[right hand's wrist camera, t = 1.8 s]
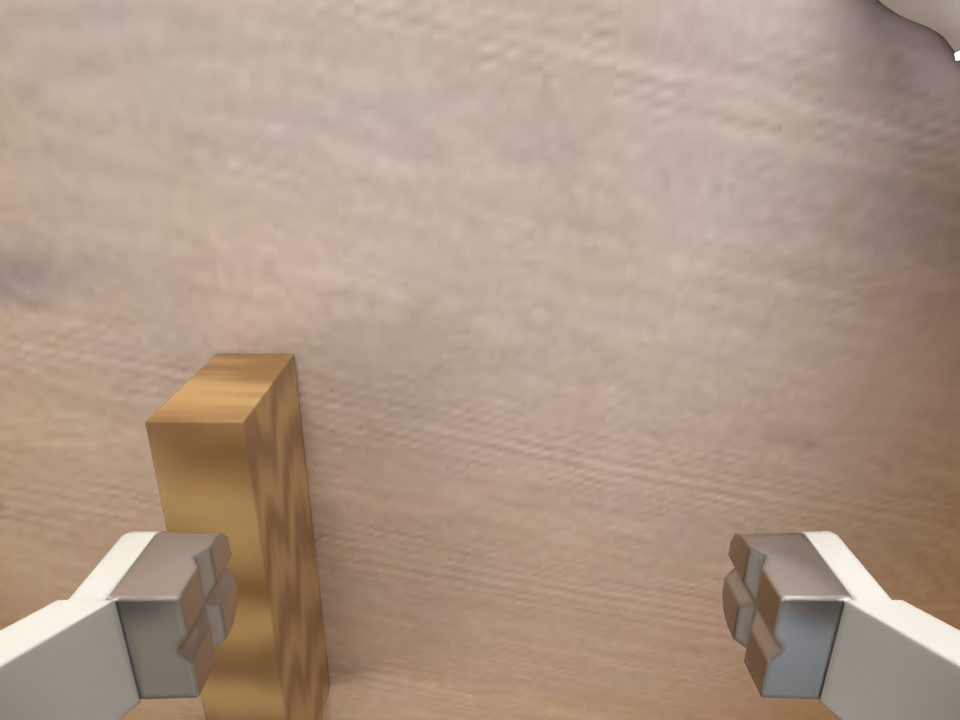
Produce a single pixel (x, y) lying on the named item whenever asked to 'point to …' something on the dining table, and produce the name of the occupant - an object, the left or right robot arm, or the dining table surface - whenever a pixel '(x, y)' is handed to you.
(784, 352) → the dining table surface
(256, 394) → the bar
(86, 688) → the right robot arm
